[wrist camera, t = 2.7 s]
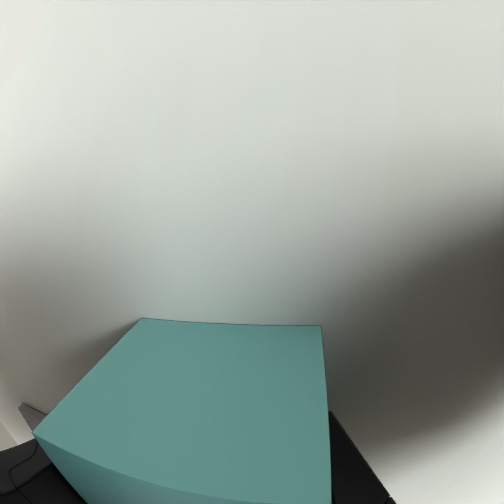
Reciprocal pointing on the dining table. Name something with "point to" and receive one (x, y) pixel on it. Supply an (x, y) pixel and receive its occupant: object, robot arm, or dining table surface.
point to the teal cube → (198, 418)
